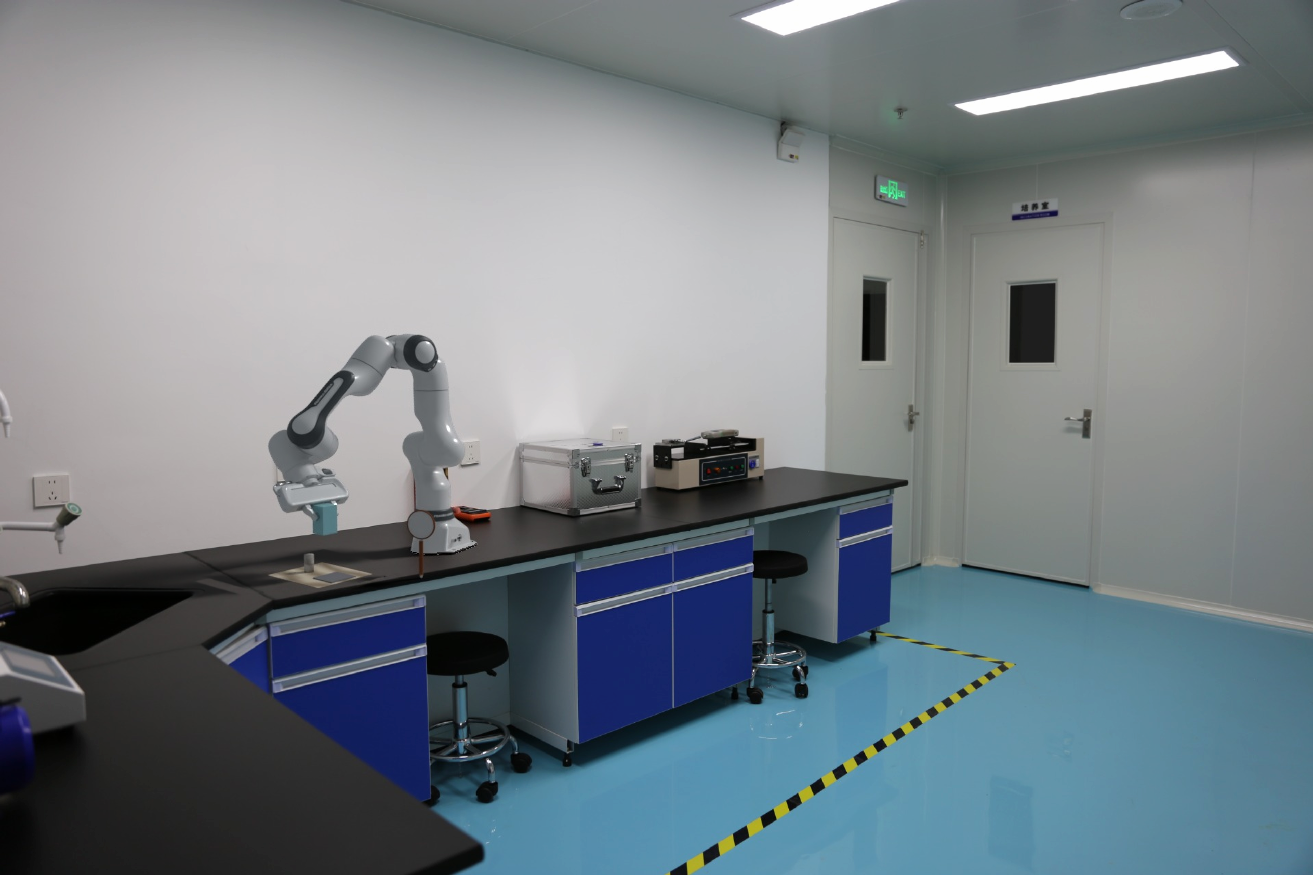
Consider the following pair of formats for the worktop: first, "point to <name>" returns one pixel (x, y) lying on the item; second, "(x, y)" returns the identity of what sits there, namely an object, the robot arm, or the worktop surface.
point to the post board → (315, 573)
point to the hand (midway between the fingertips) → (326, 517)
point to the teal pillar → (325, 519)
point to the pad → (334, 577)
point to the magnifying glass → (421, 530)
